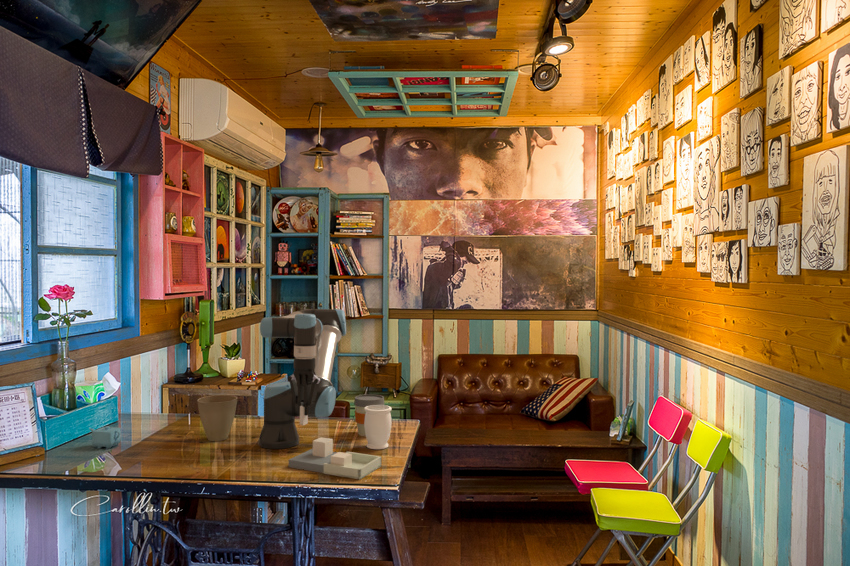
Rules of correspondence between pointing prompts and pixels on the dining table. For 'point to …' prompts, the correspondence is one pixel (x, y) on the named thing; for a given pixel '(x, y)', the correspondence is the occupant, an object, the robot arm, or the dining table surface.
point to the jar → (377, 426)
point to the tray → (355, 466)
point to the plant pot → (217, 415)
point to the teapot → (106, 437)
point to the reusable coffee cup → (360, 412)
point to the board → (310, 461)
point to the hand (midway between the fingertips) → (303, 424)
